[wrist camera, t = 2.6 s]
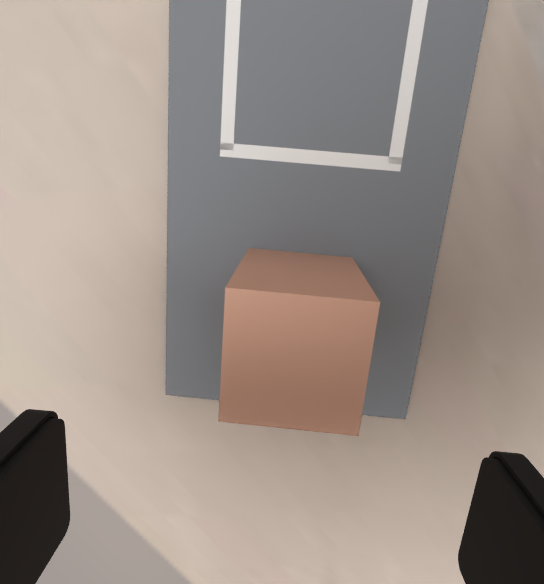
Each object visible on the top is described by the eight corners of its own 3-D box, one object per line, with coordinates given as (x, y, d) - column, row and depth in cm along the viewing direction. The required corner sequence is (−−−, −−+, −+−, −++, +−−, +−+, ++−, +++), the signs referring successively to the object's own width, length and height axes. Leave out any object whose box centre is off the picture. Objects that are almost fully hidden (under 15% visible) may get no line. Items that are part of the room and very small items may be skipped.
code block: (352, 257, 20) (380, 301, 13) (339, 352, 22) (358, 435, 15) (248, 248, 20) (225, 287, 14) (242, 342, 22) (218, 421, 15)
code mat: (506, -104, 16) (510, -109, 16) (404, 416, 23) (405, 419, 22) (172, -125, 17) (170, -131, 16) (167, 392, 23) (165, 395, 23)
